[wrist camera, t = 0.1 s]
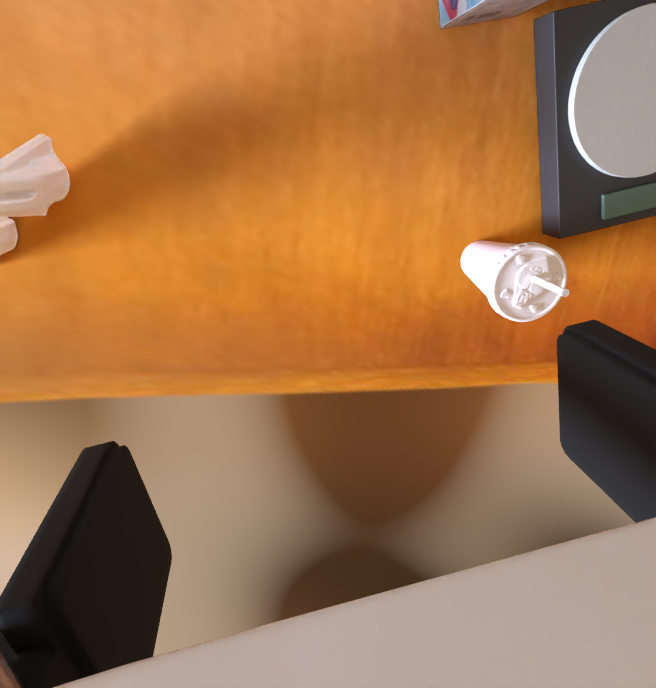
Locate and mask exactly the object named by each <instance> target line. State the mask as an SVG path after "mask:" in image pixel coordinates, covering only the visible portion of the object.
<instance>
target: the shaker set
mask: <svg viewBox="0 0 656 688" xmlns="http://www.w3.org/2000/svg"><path fill="white" fill-rule="evenodd" d="M69 188H70V179H69V174H68V171H67V168H66V166H65V165H64V164H63V163H62V162H61V160H60V159H59V158H58V156H57V155H56V153H55V152H54V150H53V148H52V140H51V138H50V137H48V136H46V135H44V134H38V135H37V136H36V137H34V138H33V139H31V140H29V141H28V142H26V143H24V144H23V145H21V146H20V147H18V148H16V149H15V150H13V151H11V152H10V153H8V154H7V155H5V156H4V157H2V158H0V255H2V254H4V253H6V252H8V251H12V249H14V248H15V246H16V243H17V240H18V238H17V237H18V234H17V229H16V226H15V222H14V220H12V219H10V218H8V217H22V216H46V214H47V210H48V208H49V207H50V205H51V204H52V203H53V202H57V201H60V200H62V199H64V198H65V197H66V195H67V194H68V191H69Z"/></svg>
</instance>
